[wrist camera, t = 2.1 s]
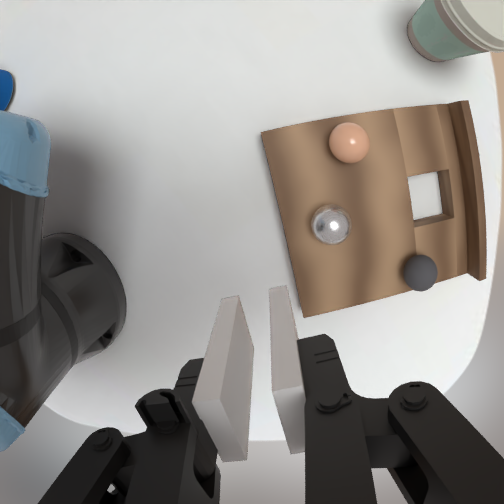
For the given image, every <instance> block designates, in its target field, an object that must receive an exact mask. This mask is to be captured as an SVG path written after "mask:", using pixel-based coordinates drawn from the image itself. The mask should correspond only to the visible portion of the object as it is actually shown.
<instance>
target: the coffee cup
mask: <svg viewBox="0 0 504 504" xmlns="http://www.w3.org/2000/svg"><path fill="white" fill-rule="evenodd" d="M407 33H408V37H409V40H410V42H411V44H412V45H413V47H414V48H415V49H416V51H417V52H418V53H419V54H421V55H422V56H423V57H425V58H427V59H429V60H431V61H435V62H441V61H446V60H450V59H455V58H459V57H464V56H469V55H473V54H478V53H483V52H489V51H491V52H497V53H498V52H504V0H425V1H424V3H423V4H422V5H421V7H420V8H419V9H418V11H417V12H416V13H415V15H414V16H413V18H412V19H411V20H410V22H409V24H408V27H407Z"/></svg>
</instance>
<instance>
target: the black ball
mask: <svg viewBox="0 0 504 504" xmlns="http://www.w3.org/2000/svg"><path fill="white" fill-rule="evenodd" d="M403 275H404V280H405V282H406V284H407V285H408V286H409V287H410V288H411V289H413V290H415V291H425V290H428V289H429V288H431V287H432V286H433V285H434V283H435V282H436V279H437V275H438V271H437V266H436V264H435V262H434V261H433V260H432V259H431V258H430V257H428V256H426V255H416V256H413V257H412V258H410V259H409V260H408V261H407V263H406V264H405V267H404V272H403Z"/></svg>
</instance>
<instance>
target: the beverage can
mask: <svg viewBox="0 0 504 504" xmlns="http://www.w3.org/2000/svg"><path fill="white" fill-rule="evenodd" d="M12 92H13V79H12V76H11V74H10V73H9V72H8V71H5V70H0V110H2V111H4V110H5V109H6V107H7V106H8V104H9V102H10V99H11V97H12Z"/></svg>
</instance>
